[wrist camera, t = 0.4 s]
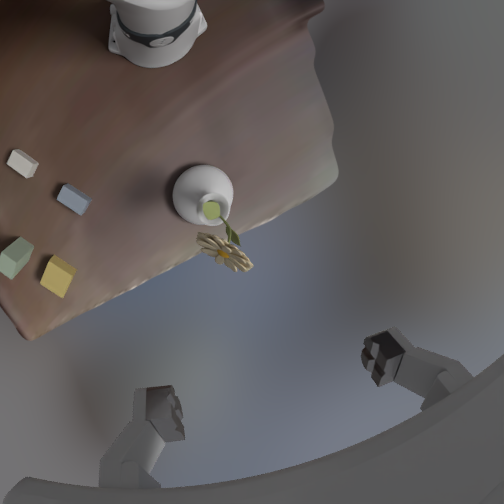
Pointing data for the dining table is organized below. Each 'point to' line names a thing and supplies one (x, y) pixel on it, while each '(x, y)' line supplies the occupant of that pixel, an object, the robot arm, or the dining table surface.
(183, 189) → the flower in vase
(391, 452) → the robot arm
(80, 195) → the slate brick
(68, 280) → the mustard brick
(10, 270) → the green brick
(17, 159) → the cream brick
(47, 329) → the dining table surface
